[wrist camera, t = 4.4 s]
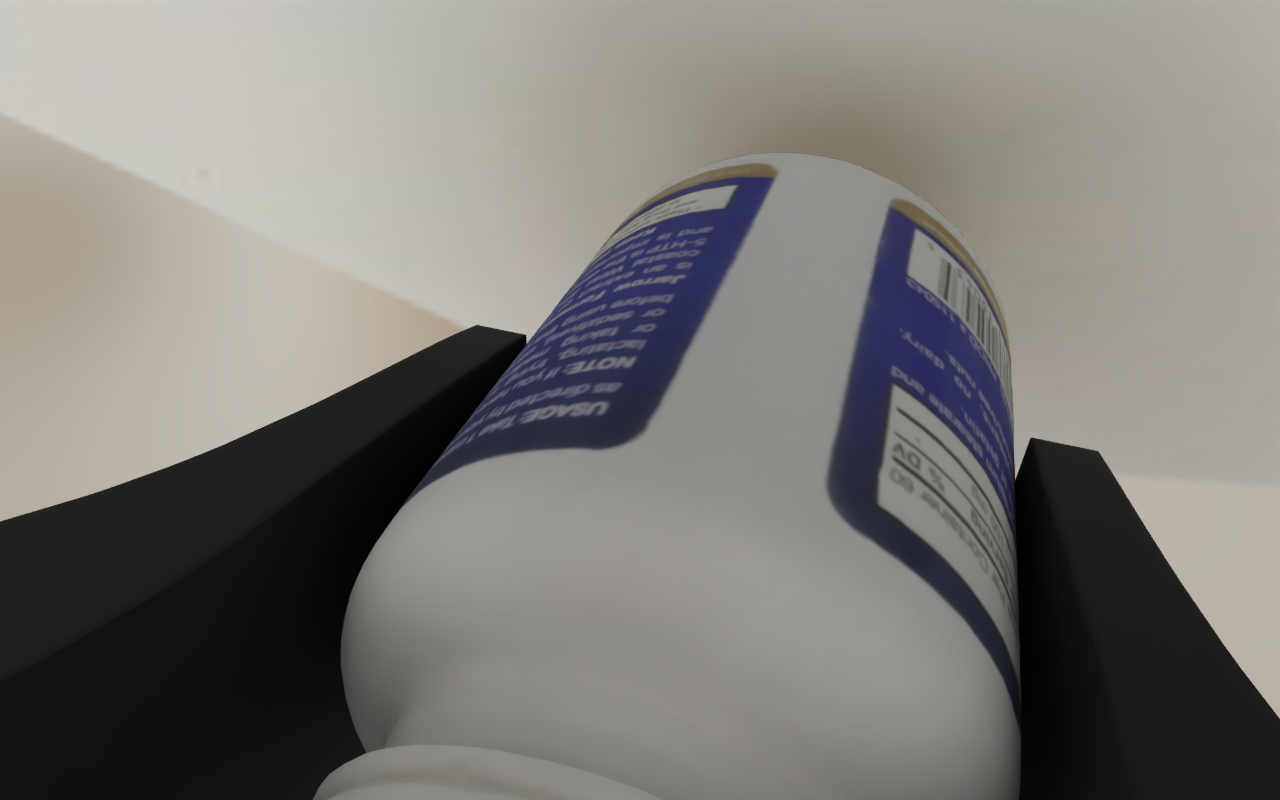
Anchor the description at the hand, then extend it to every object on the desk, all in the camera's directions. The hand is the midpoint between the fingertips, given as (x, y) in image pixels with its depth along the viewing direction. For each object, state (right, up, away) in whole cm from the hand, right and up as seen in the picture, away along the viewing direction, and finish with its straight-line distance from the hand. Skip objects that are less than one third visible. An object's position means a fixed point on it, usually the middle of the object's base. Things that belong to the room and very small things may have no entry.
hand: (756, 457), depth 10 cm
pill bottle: (+1, +2, +2) cm, 3 cm away
